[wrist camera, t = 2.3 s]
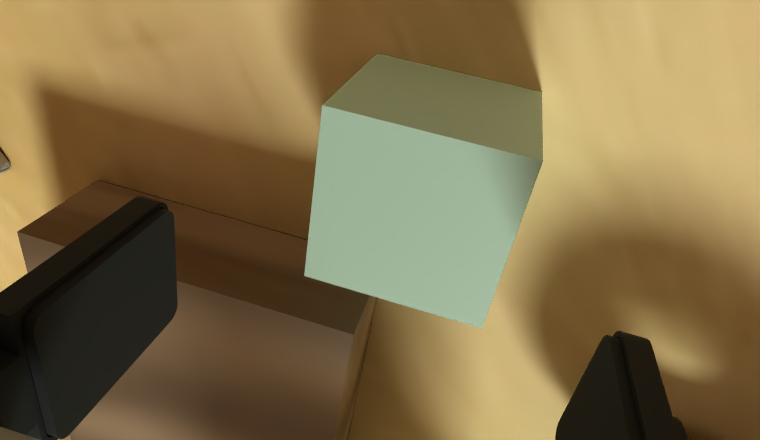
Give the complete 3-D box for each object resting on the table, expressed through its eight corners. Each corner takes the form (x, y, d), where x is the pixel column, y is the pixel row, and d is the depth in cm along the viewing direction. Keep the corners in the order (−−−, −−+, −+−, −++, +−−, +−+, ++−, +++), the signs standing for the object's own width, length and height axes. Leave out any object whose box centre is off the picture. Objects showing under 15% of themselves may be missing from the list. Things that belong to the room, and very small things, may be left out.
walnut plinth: (97, 180, 21) (17, 231, 18) (384, 262, 20) (353, 334, 17) (127, 378, 28) (72, 443, 25) (344, 451, 26) (317, 530, 23)
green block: (377, 52, 16) (322, 105, 12) (542, 91, 16) (542, 160, 11) (355, 193, 19) (304, 275, 15) (494, 231, 18) (481, 328, 14)
